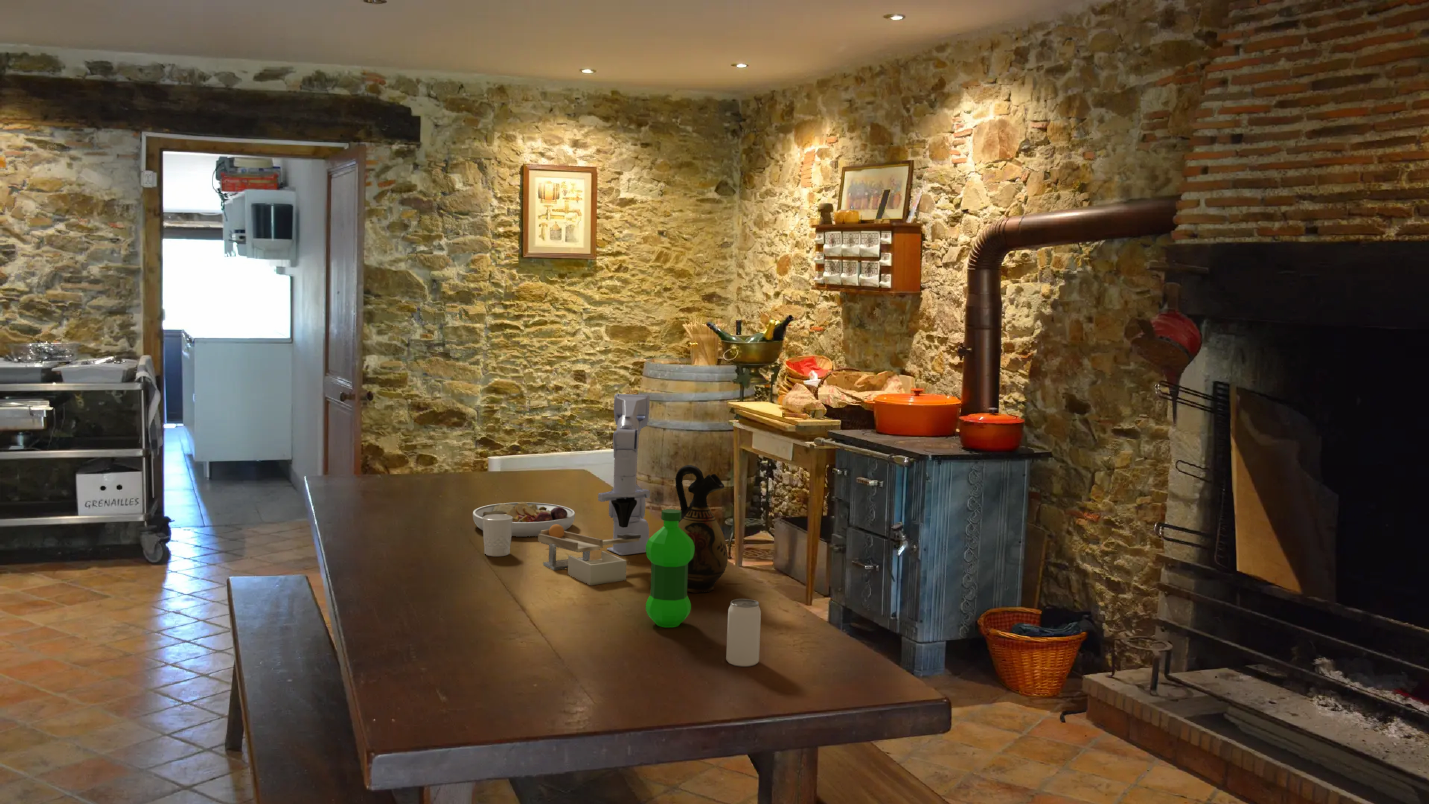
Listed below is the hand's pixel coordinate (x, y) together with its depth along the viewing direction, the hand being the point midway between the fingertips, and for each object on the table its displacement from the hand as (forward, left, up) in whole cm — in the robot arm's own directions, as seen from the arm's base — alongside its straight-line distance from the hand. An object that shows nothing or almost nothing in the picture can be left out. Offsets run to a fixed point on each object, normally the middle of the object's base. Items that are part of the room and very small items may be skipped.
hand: (623, 526), depth 292 cm
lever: (+6, -7, -5) cm, 11 cm away
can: (+19, +76, -11) cm, 79 cm away
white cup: (+23, -27, -11) cm, 37 cm away
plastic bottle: (+18, +48, -11) cm, 52 cm away
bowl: (+2, -53, -11) cm, 54 cm away
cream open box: (+12, +7, -11) cm, 17 cm away
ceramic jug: (-4, +26, -11) cm, 28 cm away
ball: (+12, -15, -3) cm, 19 cm away
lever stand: (+12, -7, -11) cm, 17 cm away
